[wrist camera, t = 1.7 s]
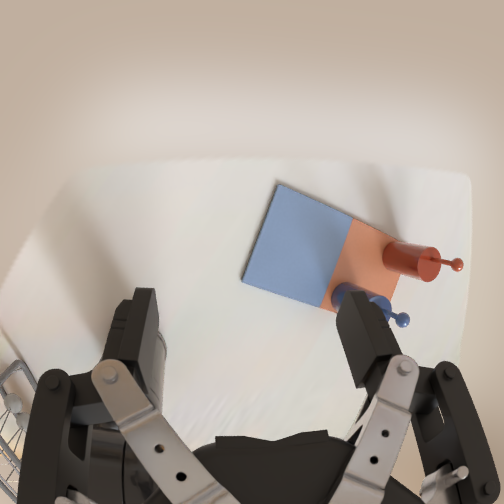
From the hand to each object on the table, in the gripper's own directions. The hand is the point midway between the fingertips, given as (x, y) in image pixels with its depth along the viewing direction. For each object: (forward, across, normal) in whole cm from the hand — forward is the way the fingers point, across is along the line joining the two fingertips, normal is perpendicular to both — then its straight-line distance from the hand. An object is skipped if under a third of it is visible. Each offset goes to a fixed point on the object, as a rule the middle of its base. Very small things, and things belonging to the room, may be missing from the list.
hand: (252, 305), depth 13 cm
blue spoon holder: (+28, +20, -26) cm, 43 cm away
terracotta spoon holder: (+32, +30, -20) cm, 49 cm away
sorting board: (+31, +18, -21) cm, 42 cm away
